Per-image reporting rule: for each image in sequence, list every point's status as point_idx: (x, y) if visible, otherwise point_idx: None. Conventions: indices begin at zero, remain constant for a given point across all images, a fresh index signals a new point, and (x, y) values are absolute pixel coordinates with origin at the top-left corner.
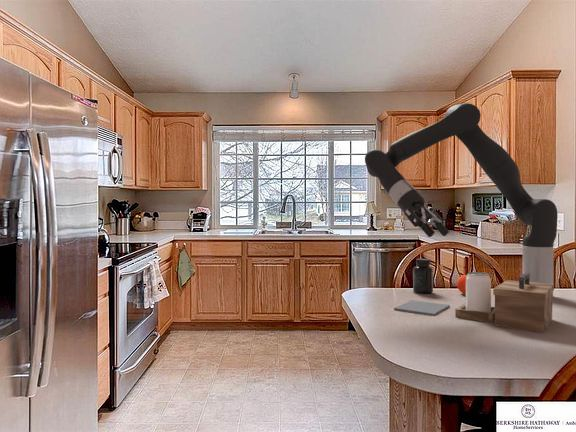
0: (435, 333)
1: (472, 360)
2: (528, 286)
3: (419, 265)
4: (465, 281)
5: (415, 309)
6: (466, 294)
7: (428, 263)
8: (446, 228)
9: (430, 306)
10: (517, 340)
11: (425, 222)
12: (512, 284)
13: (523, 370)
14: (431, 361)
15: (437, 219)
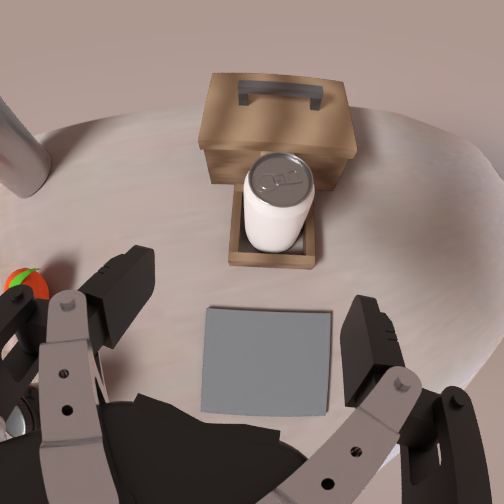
0: (441, 267)
1: (488, 200)
2: (275, 99)
3: (36, 426)
4: (35, 293)
5: (311, 367)
6: (293, 232)
7: (21, 399)
8: (124, 257)
9: (253, 347)
10: (393, 157)
11: (400, 371)
12: (267, 122)
13: (475, 157)
14: None
15: (79, 329)
